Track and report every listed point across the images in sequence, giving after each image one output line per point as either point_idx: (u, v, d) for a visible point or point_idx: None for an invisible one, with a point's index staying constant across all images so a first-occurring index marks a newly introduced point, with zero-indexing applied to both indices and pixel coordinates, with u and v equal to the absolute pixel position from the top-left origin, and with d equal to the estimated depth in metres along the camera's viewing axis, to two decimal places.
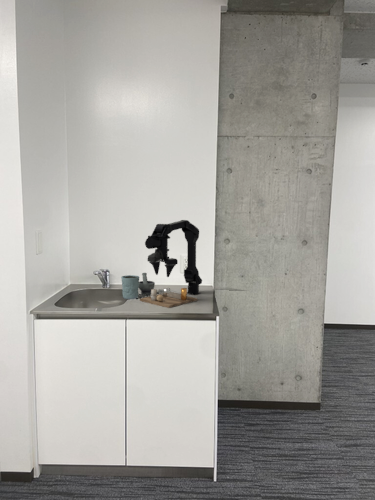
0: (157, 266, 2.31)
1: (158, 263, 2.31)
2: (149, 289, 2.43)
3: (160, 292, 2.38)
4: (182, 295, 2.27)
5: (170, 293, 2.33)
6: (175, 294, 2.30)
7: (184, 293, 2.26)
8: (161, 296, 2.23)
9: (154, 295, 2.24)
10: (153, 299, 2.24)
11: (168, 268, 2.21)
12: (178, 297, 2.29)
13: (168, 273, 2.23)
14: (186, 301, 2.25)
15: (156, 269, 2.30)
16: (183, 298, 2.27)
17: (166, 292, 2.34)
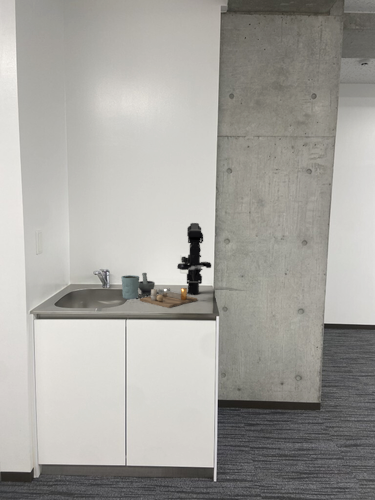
0: None
1: (196, 270, 2.29)
2: (149, 289, 2.43)
3: (160, 292, 2.38)
4: (182, 295, 2.27)
5: (170, 293, 2.33)
6: (175, 294, 2.30)
7: (184, 293, 2.26)
8: (161, 296, 2.23)
9: (154, 295, 2.24)
10: (153, 299, 2.24)
11: (190, 272, 2.30)
12: (178, 297, 2.29)
13: (192, 277, 2.30)
14: (186, 301, 2.25)
15: None
16: (183, 298, 2.27)
17: (166, 292, 2.34)
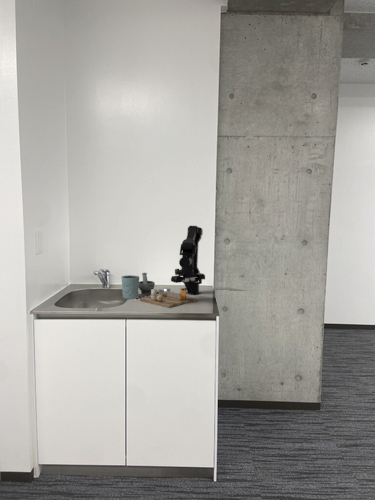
0: None
1: (190, 282, 2.27)
2: (149, 289, 2.43)
3: (160, 292, 2.38)
4: (181, 295, 2.26)
5: (170, 293, 2.33)
6: (175, 294, 2.30)
7: (183, 293, 2.26)
8: (161, 296, 2.23)
9: (154, 295, 2.24)
10: (153, 299, 2.24)
11: (184, 284, 2.28)
12: (177, 297, 2.29)
13: (187, 289, 2.28)
14: (186, 301, 2.25)
15: None
16: (182, 298, 2.26)
17: (166, 292, 2.34)
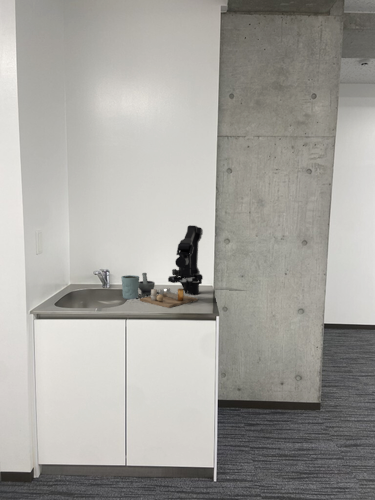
0: None
1: None
2: (149, 289, 2.43)
3: (161, 292, 2.38)
4: (178, 296, 2.25)
5: (169, 293, 2.32)
6: (173, 294, 2.29)
7: (180, 294, 2.25)
8: (161, 296, 2.23)
9: (154, 295, 2.24)
10: (153, 299, 2.24)
11: None
12: (175, 297, 2.28)
13: (184, 290, 2.27)
14: (186, 301, 2.25)
15: None
16: (179, 299, 2.25)
17: (165, 292, 2.34)
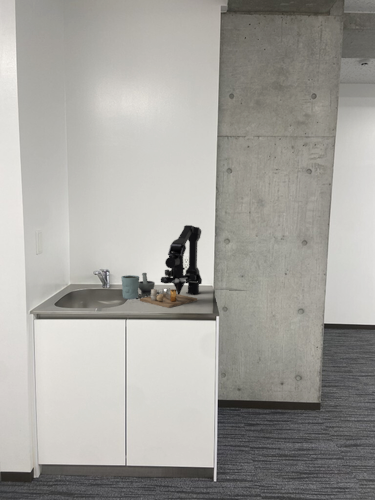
0: None
1: (180, 283, 2.23)
2: (149, 289, 2.43)
3: (163, 292, 2.39)
4: (170, 296, 2.23)
5: (166, 293, 2.32)
6: (168, 295, 2.29)
7: (172, 294, 2.23)
8: (161, 296, 2.23)
9: (154, 295, 2.24)
10: (153, 299, 2.24)
11: None
12: (169, 298, 2.27)
13: (177, 290, 2.25)
14: (186, 301, 2.25)
15: None
16: (171, 299, 2.23)
17: (164, 292, 2.35)
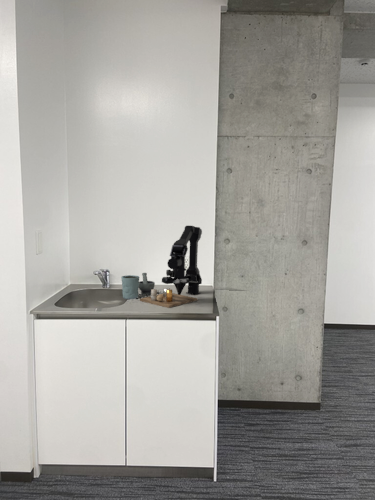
0: None
1: (181, 284, 2.25)
2: (149, 289, 2.43)
3: None
4: (166, 296, 2.23)
5: (165, 293, 2.32)
6: None
7: (167, 294, 2.22)
8: (161, 296, 2.23)
9: (154, 295, 2.24)
10: (153, 299, 2.24)
11: None
12: None
13: (177, 291, 2.26)
14: (186, 301, 2.25)
15: None
16: (167, 299, 2.23)
17: (164, 292, 2.35)
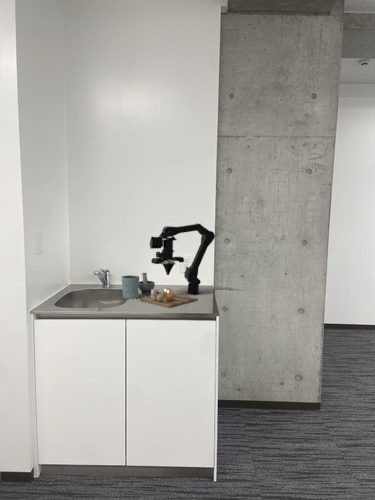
0: None
1: (170, 264, 2.41)
2: (149, 289, 2.43)
3: None
4: (166, 296, 2.23)
5: (165, 293, 2.32)
6: None
7: (167, 294, 2.22)
8: (161, 296, 2.23)
9: (154, 295, 2.24)
10: (153, 299, 2.24)
11: None
12: None
13: (166, 271, 2.43)
14: (186, 301, 2.25)
15: None
16: (167, 299, 2.23)
17: (164, 292, 2.35)
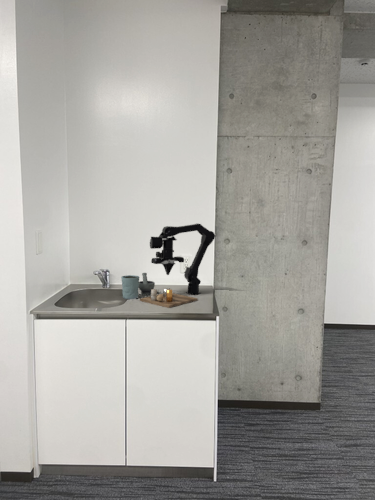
0: None
1: (170, 264, 2.41)
2: (149, 289, 2.43)
3: None
4: (166, 296, 2.23)
5: (165, 293, 2.32)
6: None
7: (167, 294, 2.22)
8: (161, 296, 2.23)
9: (154, 295, 2.24)
10: (153, 299, 2.24)
11: None
12: None
13: (166, 271, 2.43)
14: (186, 301, 2.25)
15: None
16: (167, 299, 2.23)
17: (164, 292, 2.35)
